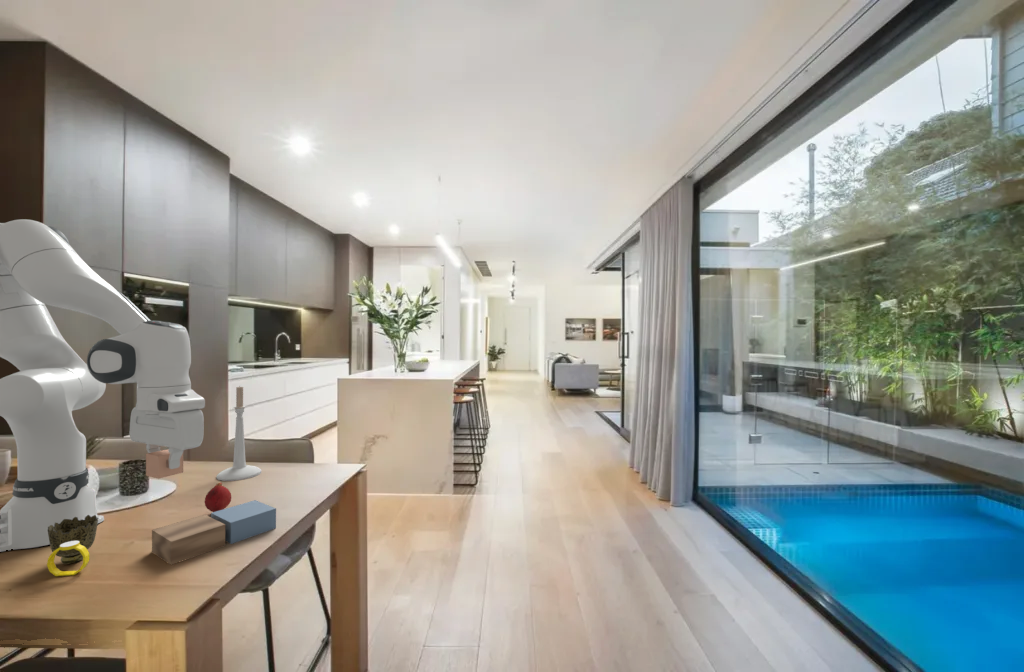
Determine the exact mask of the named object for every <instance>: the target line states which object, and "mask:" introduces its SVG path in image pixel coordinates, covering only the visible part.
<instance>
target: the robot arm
mask: <svg viewBox="0 0 1024 672" xmlns="http://www.w3.org/2000/svg"><path fill="white" fill-rule="evenodd" d="M46 305H47V306H51V307H54V308H59V309H64V310H69V311H74V312H77V313H82V314H85V315H88V316H91V317H93V318H97V319H100V320H102V321H104V322H105V323H107V324H109V325H110V327H112V328H113V329H114V330H115V331H117V333H118V334H119V335H116V336H112V337H108V338H104V339H100V340H98V341H97V342H96V343H94V344H93V345H92V346H91V348H90V349H89V351H88V354H87V356H86V362H85V361H84V360H83V359H82V358H81V357H80V355H78V353H77V352H76V351H75V350H74V349H73V347H71V345H70V344H69V343H68V342H67V341H66V340H65V338H64V337H63V335H62V333H61V332H60V330H59V328H58V326H57V325H56V323H55V321H54V319H53V317H52V315H51V313H50V311H49V309H48V308H47V306H46ZM190 340H191V339H190V334H189V332H188V329H187V327H185V326H183V325H182V324H179V323H175V322H170V321H162V320H151V319H150V318H149V317H148V316H147V315H146V314H145V313H143V312H142V310H140V308H139V307H138V306H136V305H135V303H133V302H132V301H131V299H129V298H128V297H127V296H125V294H123V293H122V292H121V291H120V290H118V289H117V288H116V287H114V286H113V285H112V284H110V283H109V282H107V281H106V280H105V279H104V278H102V277H101V276H100V275H99V274H98V273H97V272H96V271H95V270H93V269H92V268H91V267H90V266H89V265H88V264H87V263H86V261H84V259H83V258H82V257H81V256H80V255H79V254H78V253H77V251H76V250H75V249H74V247H72V245H70V241H69V239H68V238H67V236H66V235H65V234H64V233H63V232H62V231H61V230H60V229H58V228H57V227H54V226H50V225H46V224H45V223H43V222H40V221H37V220H33V219H26V218H25V219H23V218H22V219H14V220H10V221H7V222H0V358H1V359H4V360H6V361H8V363H10V364H12V365H13V366H14V367H16V369H17V370H19V371H17V372H13V373H12V374H9V375H6V376H4V377H1V378H0V417H2V418H3V419H4V420H5V421H6V422H7V424H8V426H9V428H10V430H11V432H12V435H13V438H14V440H15V445H16V455H17V462H16V463H17V465H16V466H17V478H16V479H15V480H14V484H13V485H12V497H11V498H10V499H9V500H8V501H7V502H6V504H5V505H3V507H1V509H0V552H1V553H3V552H6V550H8V551H11V549H13V550H21V549H22V550H23V549H32V548H39V547H43V546H48V545H49V546H50V542H49V536H48V526H50V525H53V526H54V524H55V523H58V524H60V523H61V522H62V521H63V520H64V519H71V520H72V519H73V518H74V517H78V520H82V519H83V520H85V517H86V516H87V515H90V516H91V517H92V516H94V515H96V517H97V518H98V524H100V523H102V522H103V521H105V517H104V515H101V514H100V515H99V514H98V509H97V497H96V489H94V488H92V487H89V486H88V484H89V479H90V474H89V469H88V468H87V439H86V435H84V433H83V432H81V431H79V429H78V427H77V425H76V422H75V421H74V418H73V411H76V410H81V409H84V408H86V407H88V406H90V405H92V404H94V403H95V402H96V401H98V400H99V399H101V398H102V396H103V395H104V394H105V391H106V388H107V384H109V385H120V384H121V385H124V384H133V383H134V384H136V403H135V407H133V408H132V410H131V413H130V420H129V433H128V436H129V438H130V440H131V442H135V443H142V444H146V445H145V448H146V451H147V453H152V452H157V451H162V450H161V447H165V448H167V449H168V451H169V452H170V456H169V459H168V460H166V464H167V465H166V467H167V468H169V469H175V468H178V467H179V466H180V458H181V456H182V454H183V455H184V451H185V450H190V449H194V448H195V449H196V448H199V447H200V446H201V445H202V443H203V440H204V433H205V432H204V431H205V430H204V427H205V425H204V424H205V423H204V422H205V418H204V413H203V411H202V410H201V409H204V408H205V407H206V399H205V398H204V397H203V396H202V395H200V394H198V393H197V392H196V391H195V390H194V389H192V382H191V379H190V373H189V372H190V368H191V365H192V350H191V341H190Z"/></svg>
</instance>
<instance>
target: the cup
mask: <svg viewBox="0 0 1024 672" xmlns="http://www.w3.org/2000/svg"><path fill="white" fill-rule="evenodd" d="M98 524H99V523H98V518H97V517H96V515H94V516H92V517H91V516H90V515H87V516H86V517H85V520H83V519H82V520H78V517H74V518H73V519H72V520H71V519H64V520H63V521H62V522H61V523H60V524H58V523H55V524H54V526H53V525H50V526H48V536H49V542H50V544H49V546H50V550H51V553H52V552H53V551H55V550H56V549H58V548H59V547H60V545H61V544H63V543H65V542H69V541H79V542H80V544H81V545H83V546H85V547H86V548H87V550H88V551H89V549H90V548H91V547H92V546H93V544H94V543H95V539H96V535H97V530H98ZM55 556H56V557H59V558H60V562H61V564H63V565H69V564H71V565H72V564H74V563H77V562H79V561H81V560H82V561H83V556H82V554H81V553H80V551H78V550H76V549H70V550H59V551H58V552H57V554H56V555H55Z"/></svg>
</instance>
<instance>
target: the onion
mask: <svg viewBox="0 0 1024 672" xmlns="http://www.w3.org/2000/svg"><path fill="white" fill-rule="evenodd" d="M231 501H232V493H231V491H230V489H229V488H227V487H225V486H224V485H223V483H222V482H220V481H219V482H217V483H216V484H215V485H214V487H212V488H210V490H209V491H208V492H207V493H206V495H205V497H204V506H205V508H206V509H207V510H208V511H210V512H211V513H212V512H216V511H219V510H223V509H226V508H228V506H229V505H230V504H231Z"/></svg>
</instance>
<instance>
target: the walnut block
mask: <svg viewBox="0 0 1024 672" xmlns="http://www.w3.org/2000/svg"><path fill="white" fill-rule="evenodd" d="M225 546H226V541H225V524H223V523H221V522H219V521H217V520H215V519H213V518H211V516H209V515H207V514H202V515H197V516H195V517H191V518H188V519H185V520H181V521H178V522H174V523H171V524H167V525H164V526H160V527H157V528H154V529H152V530H151V553H153V554H154V555H155V556H157V557H159V558H160V559H161V558H162V560H163V561H164V560H165V562H166V563H167V562H168V563H167V564H169V565H170V564H171V565H170V566H172V564H173V565H175V564H174V563H176V564H178V563H177V562H179V561H181V562H183V561H182V560H184V561H186V560H185V559H187V560H189V558H190V559H193V558H195V557H197V556H200V555H204V554H206V553H209V552H212V551H215V550H217V549H220V548H223V547H225ZM179 563H180V562H179Z"/></svg>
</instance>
